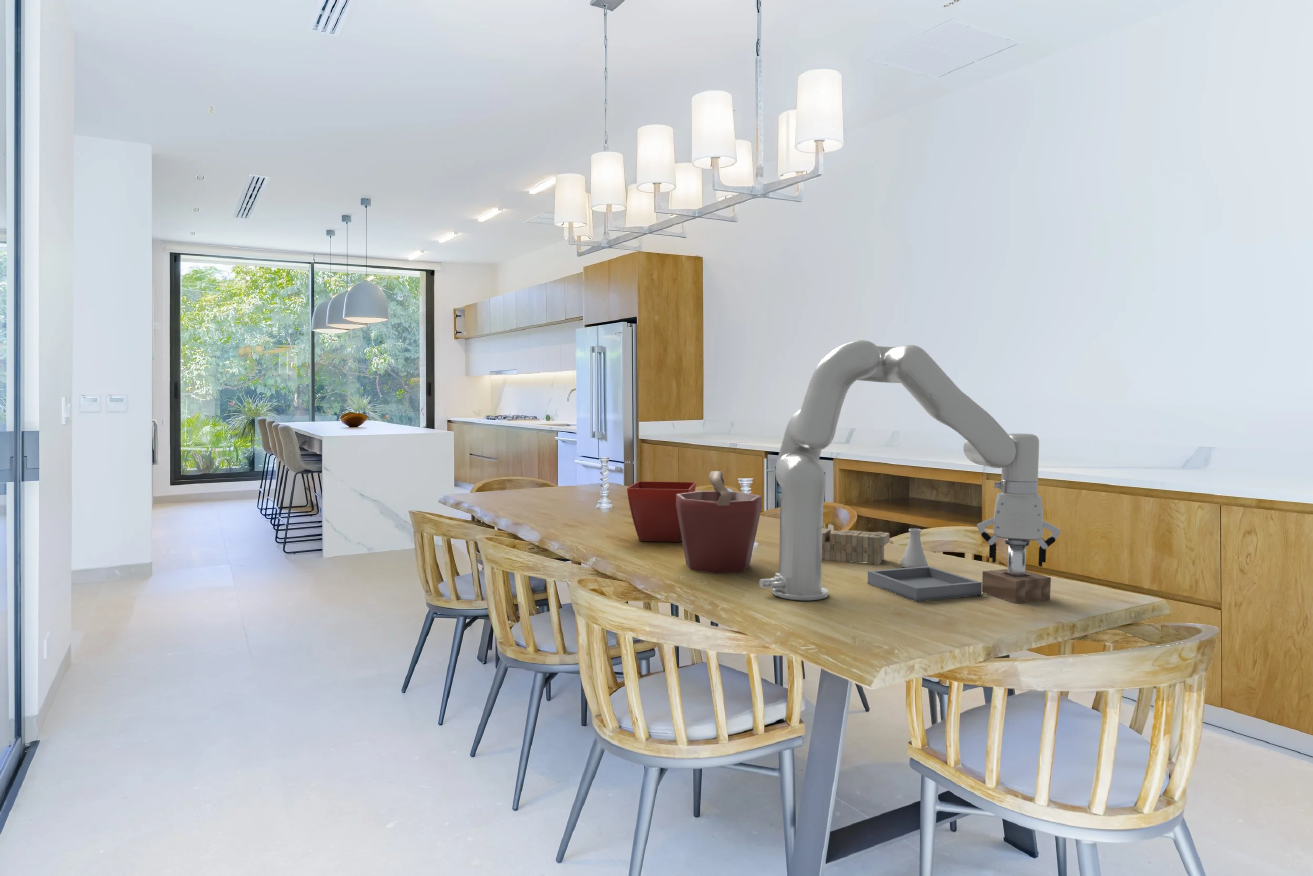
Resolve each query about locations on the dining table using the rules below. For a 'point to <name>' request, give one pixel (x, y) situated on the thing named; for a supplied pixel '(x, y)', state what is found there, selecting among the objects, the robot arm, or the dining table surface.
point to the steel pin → (1016, 556)
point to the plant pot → (657, 509)
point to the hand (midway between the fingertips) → (1016, 563)
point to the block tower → (854, 546)
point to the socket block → (1016, 586)
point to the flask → (914, 551)
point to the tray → (924, 583)
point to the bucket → (718, 527)
